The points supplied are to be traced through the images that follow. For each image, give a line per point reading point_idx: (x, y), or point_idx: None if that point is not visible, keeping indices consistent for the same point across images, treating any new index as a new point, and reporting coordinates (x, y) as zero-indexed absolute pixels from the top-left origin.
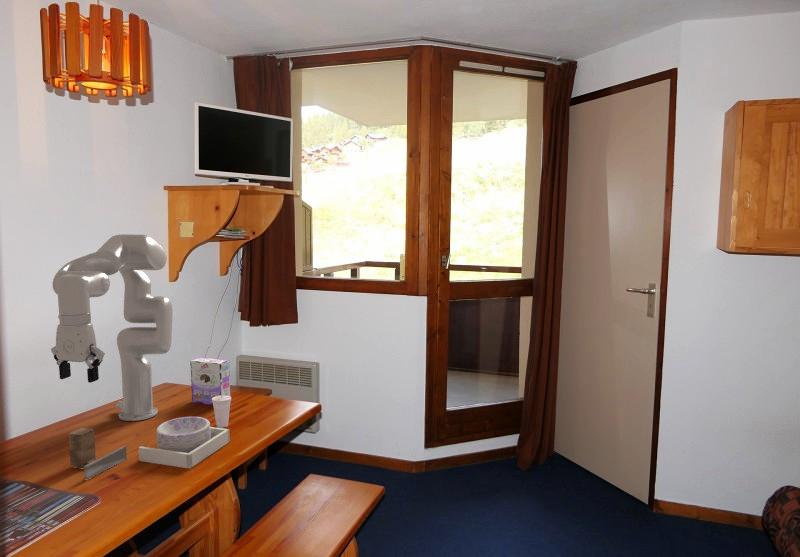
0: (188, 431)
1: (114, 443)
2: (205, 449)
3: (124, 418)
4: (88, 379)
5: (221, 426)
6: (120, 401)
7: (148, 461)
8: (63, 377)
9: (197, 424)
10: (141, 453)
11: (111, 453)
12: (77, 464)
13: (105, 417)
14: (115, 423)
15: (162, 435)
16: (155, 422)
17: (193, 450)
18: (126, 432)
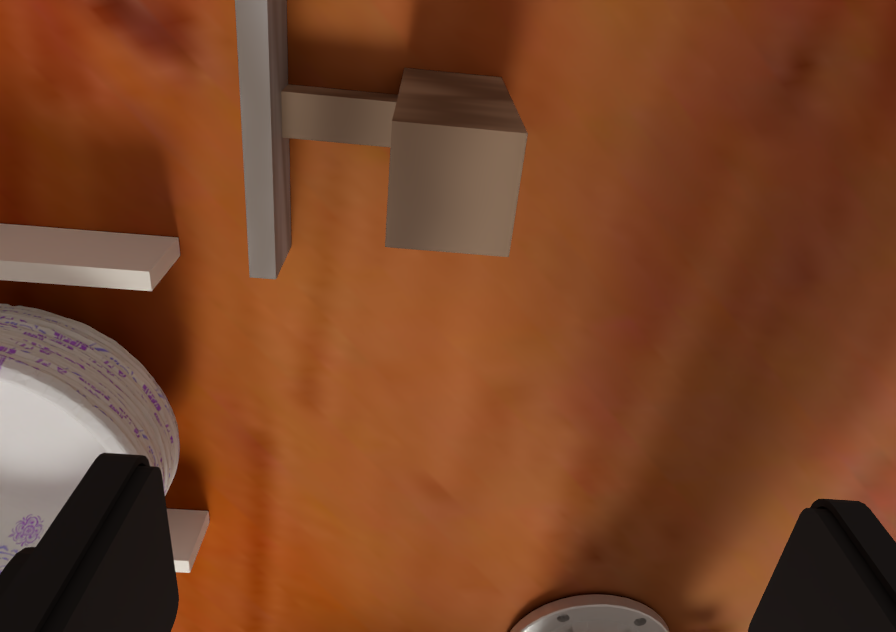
0: (62, 497)
1: (481, 391)
2: None
3: (610, 603)
4: (97, 491)
5: None
6: None
7: (111, 233)
8: (808, 542)
9: (14, 545)
10: (143, 254)
11: (252, 168)
12: (447, 76)
13: (727, 607)
14: (636, 567)
15: None
16: (452, 604)
17: None
18: (512, 501)
